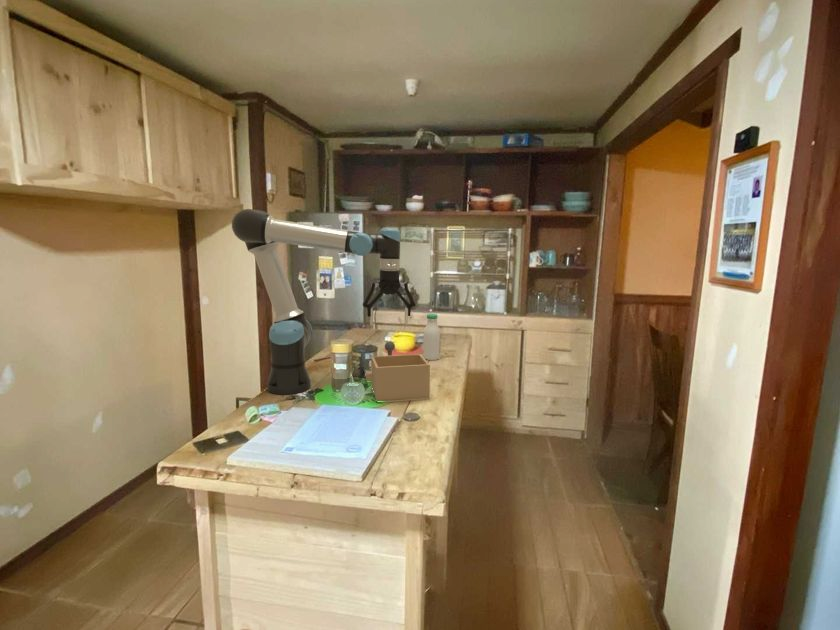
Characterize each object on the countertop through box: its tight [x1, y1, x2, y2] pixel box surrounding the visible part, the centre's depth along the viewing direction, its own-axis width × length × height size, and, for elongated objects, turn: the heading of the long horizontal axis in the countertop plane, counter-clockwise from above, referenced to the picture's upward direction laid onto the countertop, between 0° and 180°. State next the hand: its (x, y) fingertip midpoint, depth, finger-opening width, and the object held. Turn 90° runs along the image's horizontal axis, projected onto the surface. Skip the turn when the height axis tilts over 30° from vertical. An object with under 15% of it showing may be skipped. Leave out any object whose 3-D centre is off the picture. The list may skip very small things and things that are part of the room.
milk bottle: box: [422, 313, 441, 361], centre depth 198 cm, size 8×8×20 cm
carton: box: [370, 353, 431, 403], centre depth 154 cm, size 18×14×12 cm
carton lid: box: [365, 340, 396, 381], centre depth 175 cm, size 20×16×14 cm
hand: (388, 324), depth 173 cm, fingers open, 13 cm apart
